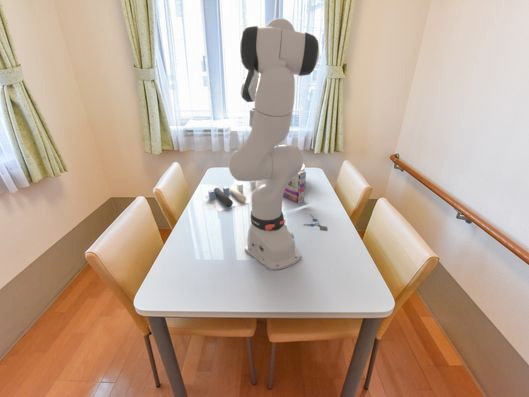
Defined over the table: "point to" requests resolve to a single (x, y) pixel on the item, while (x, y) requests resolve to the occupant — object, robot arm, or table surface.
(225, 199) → the dark gray rod
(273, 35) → the robot arm
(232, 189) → the rod
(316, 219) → the key chain
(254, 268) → the table surface
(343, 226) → the table surface
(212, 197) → the rod display rack
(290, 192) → the candy bar box
